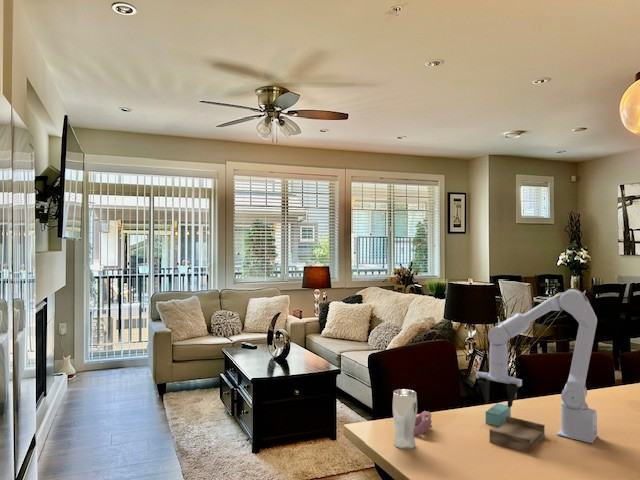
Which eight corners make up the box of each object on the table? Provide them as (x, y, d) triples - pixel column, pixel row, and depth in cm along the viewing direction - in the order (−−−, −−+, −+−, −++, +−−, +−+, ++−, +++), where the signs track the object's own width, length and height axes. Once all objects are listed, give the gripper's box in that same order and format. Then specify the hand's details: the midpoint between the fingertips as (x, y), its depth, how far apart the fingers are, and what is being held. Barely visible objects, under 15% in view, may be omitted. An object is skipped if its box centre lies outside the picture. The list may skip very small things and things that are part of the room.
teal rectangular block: (510, 417, 158) (510, 405, 158) (499, 427, 150) (499, 414, 150) (497, 414, 161) (497, 403, 161) (485, 424, 153) (485, 411, 153)
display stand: (544, 436, 142) (544, 425, 142) (528, 452, 131) (528, 440, 131) (507, 427, 149) (507, 416, 149) (489, 441, 138) (489, 429, 138)
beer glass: (402, 451, 130) (402, 397, 131) (387, 442, 137) (387, 390, 137) (422, 447, 134) (422, 394, 134) (406, 438, 140) (407, 387, 140)
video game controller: (424, 442, 141) (435, 422, 140) (410, 434, 142) (421, 414, 141) (424, 430, 150) (434, 411, 150) (411, 422, 151) (421, 403, 151)
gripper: (472, 360, 158) (472, 401, 157) (516, 368, 148) (516, 412, 148) (480, 357, 163) (480, 396, 163) (524, 364, 153) (523, 406, 153)
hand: (498, 403), depth 156 cm, fingers open, 7 cm apart
